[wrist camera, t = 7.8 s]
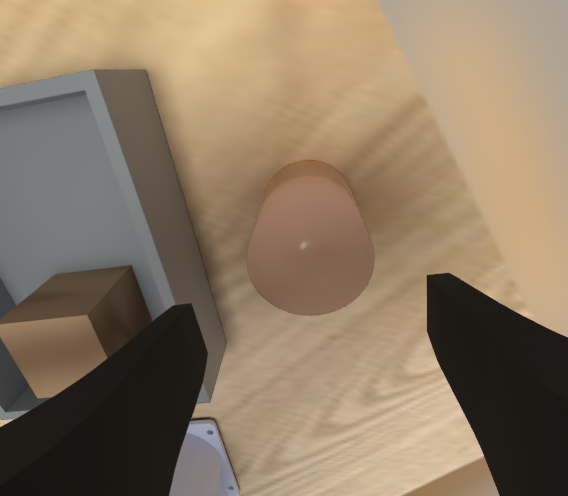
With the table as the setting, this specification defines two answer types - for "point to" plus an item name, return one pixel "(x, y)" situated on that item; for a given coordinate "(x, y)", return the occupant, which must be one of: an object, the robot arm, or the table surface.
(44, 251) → the tote
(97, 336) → the walnut cube
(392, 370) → the table surface
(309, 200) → the terracotta cylinder
